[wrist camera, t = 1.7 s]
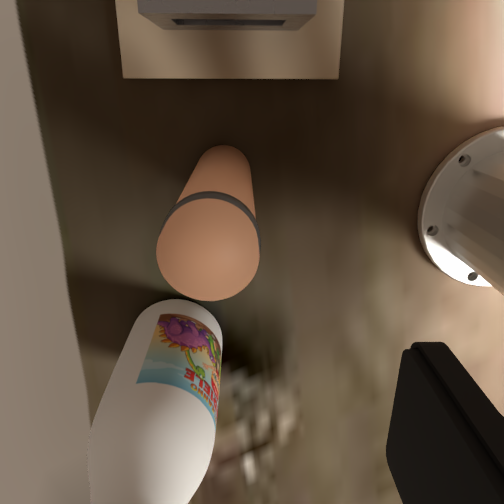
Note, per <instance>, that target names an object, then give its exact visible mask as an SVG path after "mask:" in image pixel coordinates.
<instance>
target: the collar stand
mask: <svg viewBox="0 0 504 504" xmlns="http://www.w3.org/2000/svg"><path fill="white" fill-rule="evenodd" d="M115 4H116V13H117V23H118V32H119V42H120V52H121V61H122V71H123V78H168V79H338V77H339V63H340V50H341V37H342V23H343V10H344V0H115Z"/></svg>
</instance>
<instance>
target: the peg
mask: <svg viewBox="0 0 504 504" xmlns="http://www.w3.org/2000/svg"><path fill="white" fill-rule="evenodd" d="M260 249H261V240H260V232H259V227H258V224H257V221H256V216H255V207H254V198H253V188H252V179H251V170H250V165H249V162H248V160H247V158H246V157H245V155H244V154H243V153H242V152H241V151H240V150H238V149H237V148H235V147H232V146H228V145H218V146H214V147H212V148H210V149H208V150H207V151H206V152H205V153H204V154H203V155H202V156H201V158H200V159H199V161H198V163H197V165H196V167H195V169H194V171H193V173H192V174H191V176H190V178H189V180H188V182H187V184H186V186H185V188H184V190H183V192H182V194H181V195H180V197H179V199H178V201H177V203H176V205H174V207H173V208H172V209H171V210H170V212H169V213H168V215H167V217H166V219H165V220H164V223H163V225H162V227H161V231H160V235H159V239H158V242H157V249H156V255H157V262H158V265H159V269H160V271H161V273H162V275H163V276H164V278H165V279H166V281H167V282H168V283H169V284H170V285H171V286H172V287H173V288H174V289H176V290H177V291H178V292H180V293H182V294H183V295H185V296H188V297H190V298H193V299H197V300H202V301H217V300H222V299H226V298H229V297H231V296H233V295H235V294H237V293H238V292H240V291H241V290H243V289H244V288H245V287H246V286H247V285H248V284H249V283H250V281H251V280H252V279H253V277H254V275H255V273H256V270H257V268H258V264H259V255H260Z"/></svg>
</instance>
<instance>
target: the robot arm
mask: <svg viewBox="0 0 504 504" xmlns="http://www.w3.org/2000/svg"><path fill="white" fill-rule="evenodd" d="M461 156H462V159H461V160H460V161H459V158H460V157H461ZM417 226H418V232H419V238H420V241H421V244H422V246H423V249H424V251H425V253H426V254H427V256H428V257H429V258H430V260H431V261H432V262H433V263H434V264H435V265H436V266H437V267H438V268H439V269H440V270H441V271H442V272H443V273H445V274H446V275H448V276H449V277H451V278H452V279H455V280H457V281H459V282H462V283H464V284H469V285H474V286H493V287H494V288H495V289H496V290H498V291H499V292H500V293H501V294H503V295H504V126H502V127H496V128H493V129H490V130H487V131H485V132H482V133H479V134H477V135H475V136H474V137H472V138H470V139H468V140H467V141H465V142H463V143H462V144H461V145H459V146H458V147H457V148H456V149H454V150H453V151H452V152H451V153H449V154H448V156H447V157H446V158H445V159H444V160H443V161H442V162H441V163H440V164H439V165H438V167H437V168H436V170H435V171H434V173H433V174H432V176H431V177H430V179H429V180H428V182H427V185H426V187H425V189H424V192H423V194H422V196H421V201H420V205H419V209H418V225H417ZM430 226H431V228H430V229H428V228H429V227H430ZM427 229H428V230H427ZM386 457H387V462H388V466H389V469H390V471H391V474H392V476H393V479H394V482H395V484H396V487H397V489H398V492H399V495H400V497H401V500H402V502H403V504H504V417H503V416H502V415H501V414H500V413H499V412H498V410H497V409H496V408H495V407H494V405H493V404H492V403H491V401H490V400H489V399H488V398H487V396H486V395H485V394H484V392H483V391H482V390H481V389H480V387H479V386H478V385H477V383H476V382H475V381H474V380H473V378H472V377H471V376H470V374H469V373H468V372H467V371H466V369H465V368H464V367H463V365H462V364H461V363H460V362H459V360H458V359H457V358H456V356H455V355H454V354H453V353H452V351H451V350H450V349H449V347H448V346H447V345H446V344H445V343H443V342H415V343H413V344H412V346H411V348H410V349H406V350H404V351H403V353H402V358H401V363H400V369H399V375H398V381H397V387H396V392H395V398H394V404H393V410H392V416H391V421H390V427H389V433H388V439H387V445H386Z"/></svg>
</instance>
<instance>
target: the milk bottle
mask: <svg viewBox="0 0 504 504" xmlns="http://www.w3.org/2000/svg"><path fill="white" fill-rule="evenodd" d="M221 357H222V333H221V329H220V326H219V324H218V322H217V321H216V319H215V318H214V317H213V316H212V314H211V313H210V312H209V311H207V310H206V309H205V308H204V307H202V306H200V305H198V304H196V303H194V302H191V301H188V300H181V299H169V300H165V301H161V302H158V303H155V304H153V305H151V306H150V307H148V308H147V309H145V310H144V311H143V312H142V313H141V314H140V315H139V317H138V318H137V320H136V321H135V323H134V325H133V327H132V329H131V332H130V334H129V336H128V339H127V341H126V343H125V345H124V348H123V350H122V352H121V355H120V357H119V359H118V362H117V364H116V366H115V368H114V371H113V373H112V376H111V378H110V380H109V383H108V385H107V387H106V390H105V392H104V395H103V397H102V399H101V402H100V405H99V407H98V410H97V413H96V415H95V418H94V421H93V424H92V428H91V432H90V436H89V442H88V449H87V468H88V477H89V484H90V492H91V493H90V494H91V504H188V502H189V500H190V499H191V497H192V496H193V494H194V493H195V491H196V490H197V488H198V486H199V485H200V483H201V481H202V479H203V477H204V475H205V473H206V470H207V468H208V465H209V462H210V459H211V455H212V451H213V446H214V439H215V431H216V423H217V412H218V400H219V387H220V372H221Z"/></svg>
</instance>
